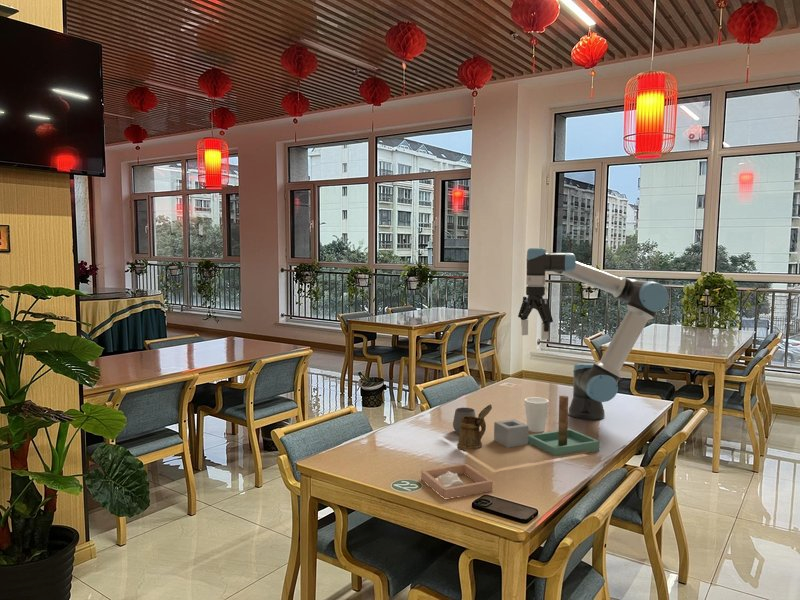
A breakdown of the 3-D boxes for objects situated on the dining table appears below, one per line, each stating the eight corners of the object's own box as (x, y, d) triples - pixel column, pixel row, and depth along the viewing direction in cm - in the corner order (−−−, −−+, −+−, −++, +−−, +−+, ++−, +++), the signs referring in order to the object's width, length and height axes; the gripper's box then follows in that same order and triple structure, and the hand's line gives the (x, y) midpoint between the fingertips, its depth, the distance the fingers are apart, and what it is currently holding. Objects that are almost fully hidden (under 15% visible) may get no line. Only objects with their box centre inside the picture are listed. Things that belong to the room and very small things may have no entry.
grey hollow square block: (514, 439, 223) (514, 419, 222) (528, 446, 214) (528, 425, 214) (494, 442, 219) (494, 421, 219) (507, 450, 211) (507, 428, 210)
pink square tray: (465, 471, 190) (465, 463, 190) (492, 490, 175) (493, 481, 175) (420, 479, 184) (420, 470, 183) (444, 500, 169) (444, 490, 168)
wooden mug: (483, 457, 204) (483, 406, 202) (452, 448, 213) (452, 400, 212) (497, 450, 211) (497, 401, 209) (466, 442, 220) (467, 395, 218)
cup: (452, 431, 233) (452, 406, 232) (475, 431, 233) (475, 406, 232) (453, 438, 224) (453, 413, 223) (477, 438, 224) (478, 413, 223)
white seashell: (460, 480, 173) (429, 476, 176) (460, 494, 173) (429, 490, 176) (467, 468, 182) (437, 464, 185) (466, 482, 183) (436, 478, 186)
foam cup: (548, 436, 227) (549, 403, 225) (524, 434, 228) (524, 402, 227) (547, 429, 236) (548, 397, 235) (524, 427, 238) (524, 396, 237)
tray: (570, 437, 225) (570, 428, 225) (599, 450, 211) (599, 441, 210) (527, 444, 217) (527, 435, 217) (554, 458, 203) (554, 448, 202)
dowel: (563, 442, 216) (564, 395, 215) (569, 445, 213) (570, 397, 212) (556, 443, 215) (557, 396, 213) (562, 446, 212) (563, 398, 210)
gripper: (510, 284, 247) (509, 333, 249) (547, 287, 225) (545, 342, 226) (525, 284, 250) (524, 332, 252) (562, 287, 227) (561, 340, 229)
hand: (534, 337), depth 239 cm, fingers open, 13 cm apart
